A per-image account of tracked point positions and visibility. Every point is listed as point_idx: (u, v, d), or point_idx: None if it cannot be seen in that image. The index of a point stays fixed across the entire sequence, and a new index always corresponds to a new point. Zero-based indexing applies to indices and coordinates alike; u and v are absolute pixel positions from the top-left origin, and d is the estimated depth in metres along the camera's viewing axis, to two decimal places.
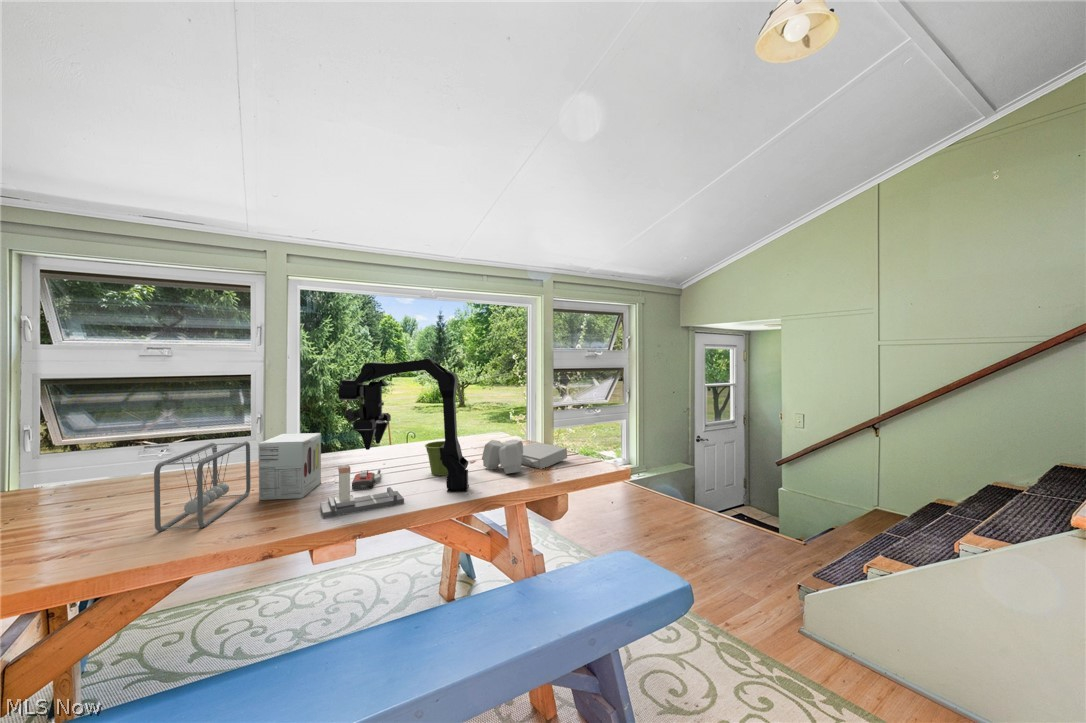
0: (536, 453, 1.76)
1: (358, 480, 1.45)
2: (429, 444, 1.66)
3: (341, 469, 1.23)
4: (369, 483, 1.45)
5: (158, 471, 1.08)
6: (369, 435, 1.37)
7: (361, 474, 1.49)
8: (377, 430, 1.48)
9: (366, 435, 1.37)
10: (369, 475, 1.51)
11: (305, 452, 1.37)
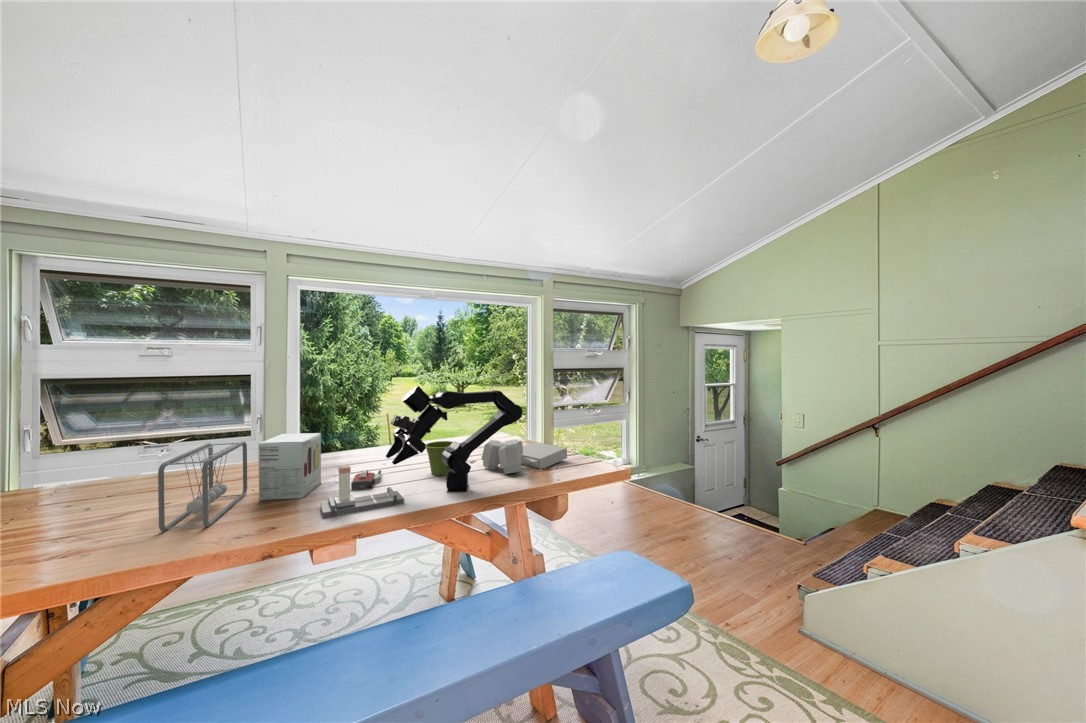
0: (536, 453, 1.76)
1: (357, 480, 1.45)
2: (429, 444, 1.66)
3: (341, 469, 1.23)
4: (368, 483, 1.45)
5: (162, 471, 1.08)
6: (408, 454, 1.29)
7: (361, 474, 1.49)
8: (396, 445, 1.38)
9: (405, 452, 1.29)
10: (369, 475, 1.51)
11: (305, 452, 1.37)
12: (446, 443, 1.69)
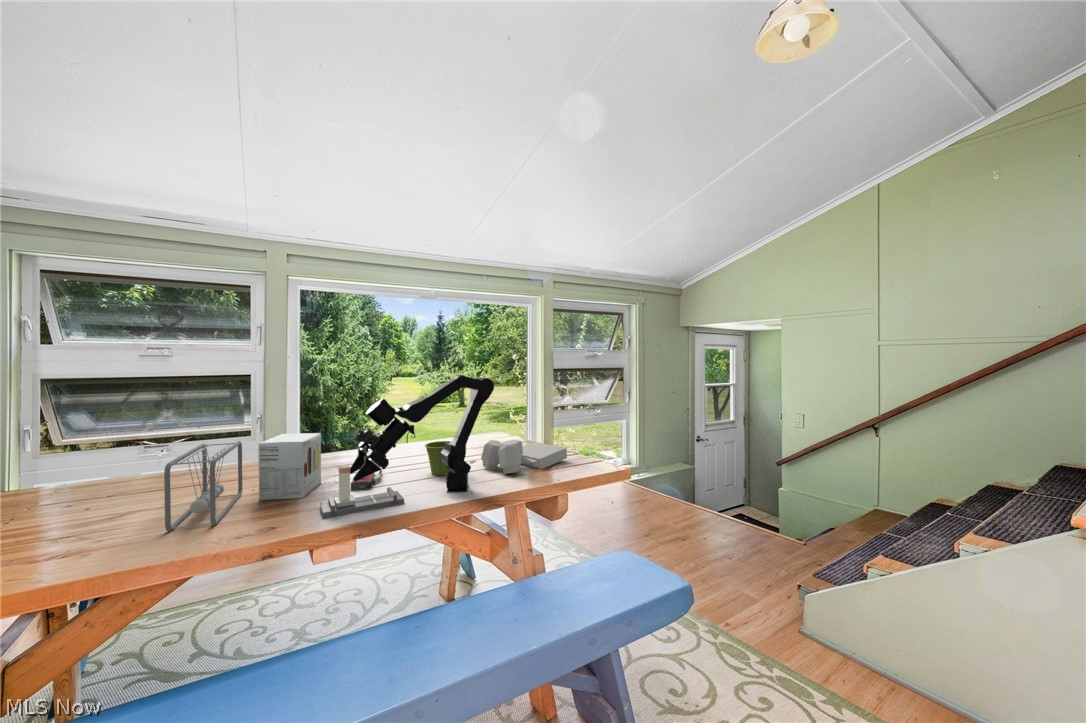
0: (536, 453, 1.76)
1: None
2: (429, 444, 1.66)
3: (341, 469, 1.23)
4: (368, 484, 1.44)
5: (169, 471, 1.08)
6: (370, 470, 1.23)
7: None
8: (360, 460, 1.32)
9: (367, 468, 1.23)
10: (369, 475, 1.51)
11: (305, 452, 1.37)
12: None
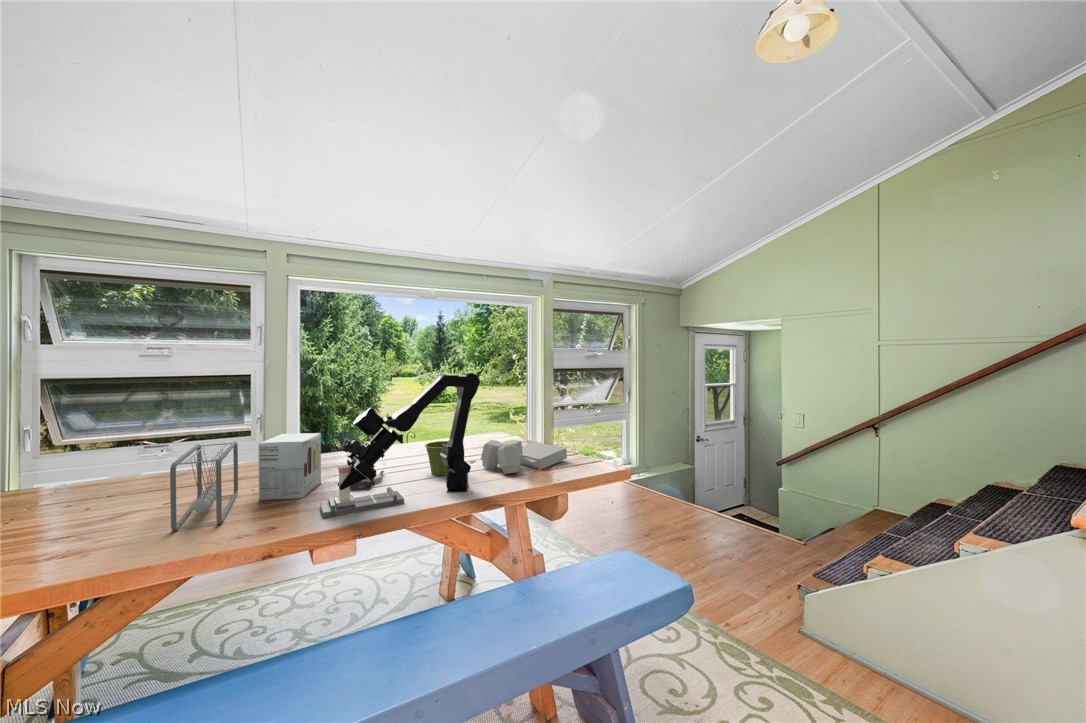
0: (536, 453, 1.76)
1: None
2: (429, 444, 1.66)
3: (341, 469, 1.23)
4: (367, 484, 1.44)
5: (174, 471, 1.09)
6: (356, 479, 1.24)
7: None
8: None
9: (353, 476, 1.24)
10: None
11: (305, 452, 1.37)
12: (446, 443, 1.69)
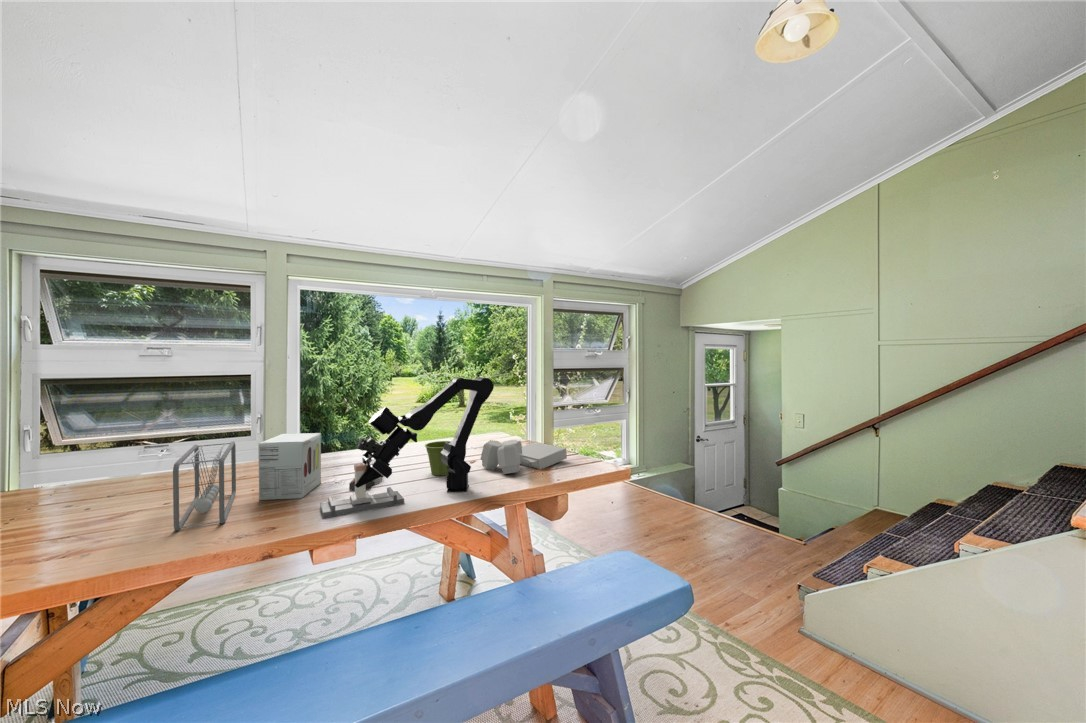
0: (535, 453, 1.76)
1: None
2: (429, 444, 1.66)
3: (357, 467, 1.26)
4: (366, 484, 1.44)
5: (177, 470, 1.09)
6: (371, 477, 1.26)
7: None
8: None
9: (369, 474, 1.26)
10: None
11: (305, 452, 1.37)
12: None
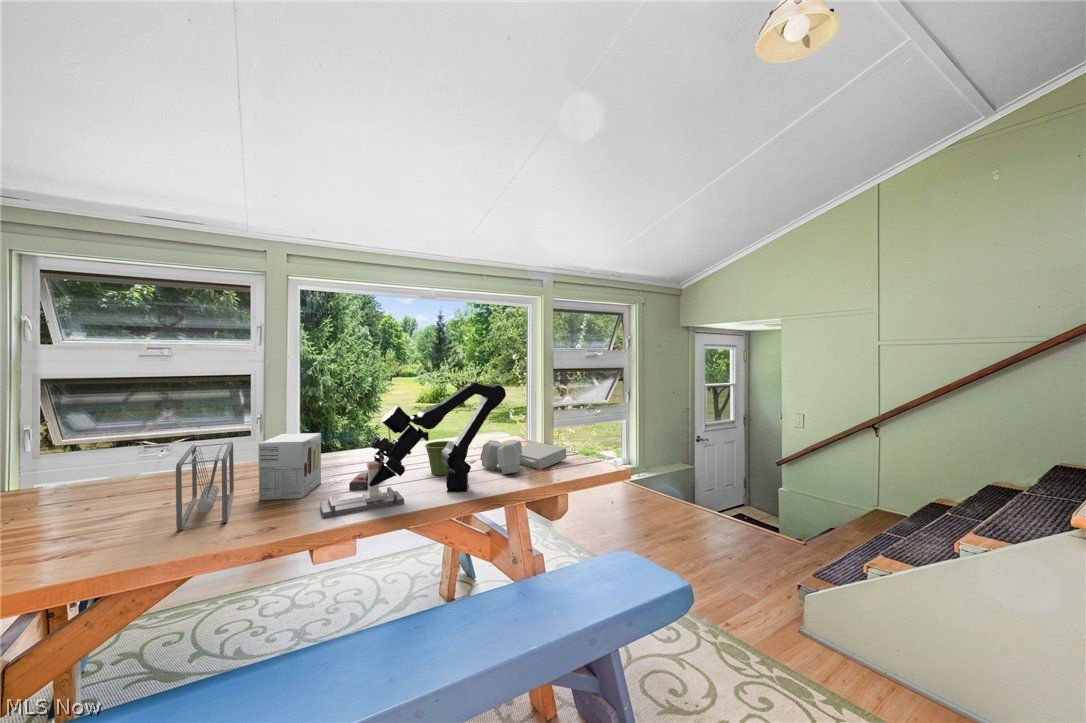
0: (535, 453, 1.76)
1: (356, 481, 1.44)
2: (429, 444, 1.66)
3: (370, 465, 1.28)
4: (366, 484, 1.44)
5: (180, 470, 1.09)
6: (385, 476, 1.27)
7: (361, 474, 1.48)
8: None
9: (383, 473, 1.27)
10: None
11: (305, 452, 1.37)
12: (446, 443, 1.69)
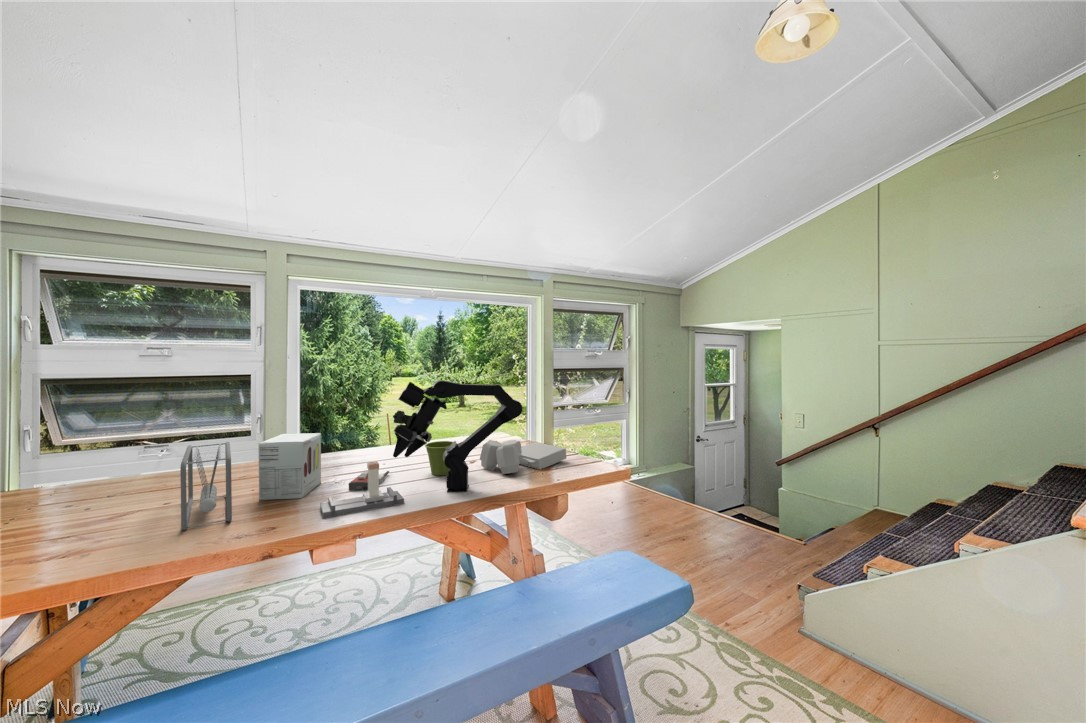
0: (535, 453, 1.76)
1: (355, 481, 1.44)
2: (429, 444, 1.66)
3: (370, 465, 1.28)
4: (364, 485, 1.43)
5: (185, 470, 1.09)
6: (403, 445, 1.33)
7: (361, 475, 1.48)
8: (412, 444, 1.44)
9: (401, 443, 1.33)
10: None
11: (305, 452, 1.37)
12: (446, 443, 1.69)
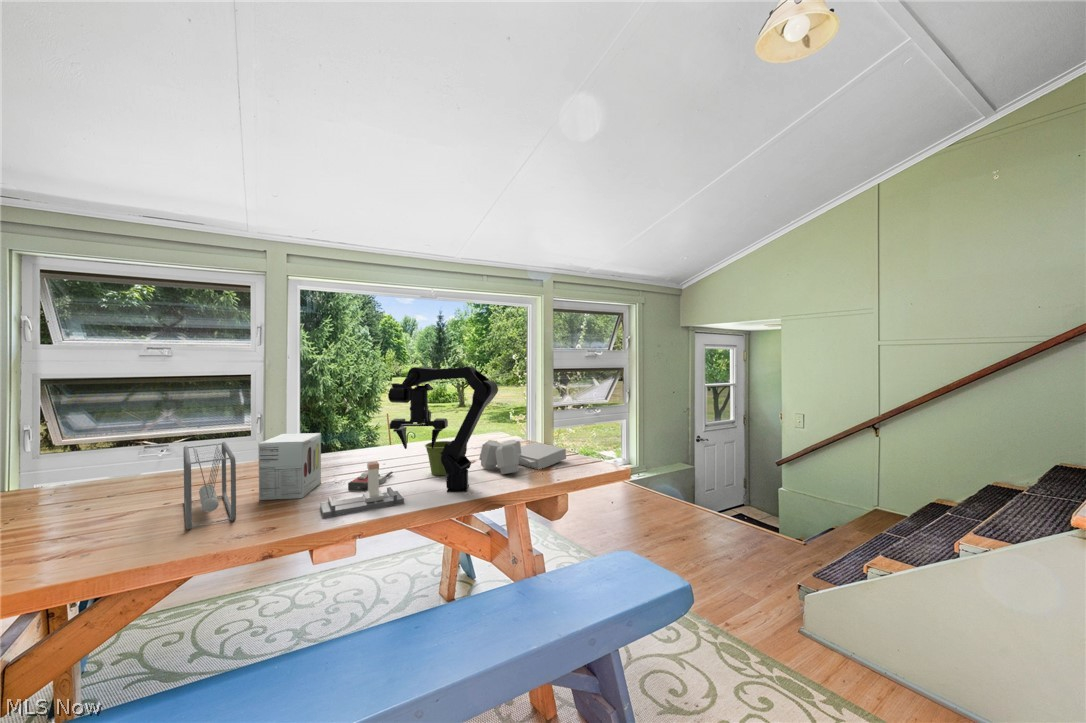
0: (535, 453, 1.75)
1: (354, 481, 1.44)
2: (429, 444, 1.66)
3: (370, 465, 1.28)
4: (363, 485, 1.43)
5: (190, 470, 1.10)
6: None
7: (362, 475, 1.48)
8: None
9: None
10: None
11: (305, 452, 1.37)
12: None
